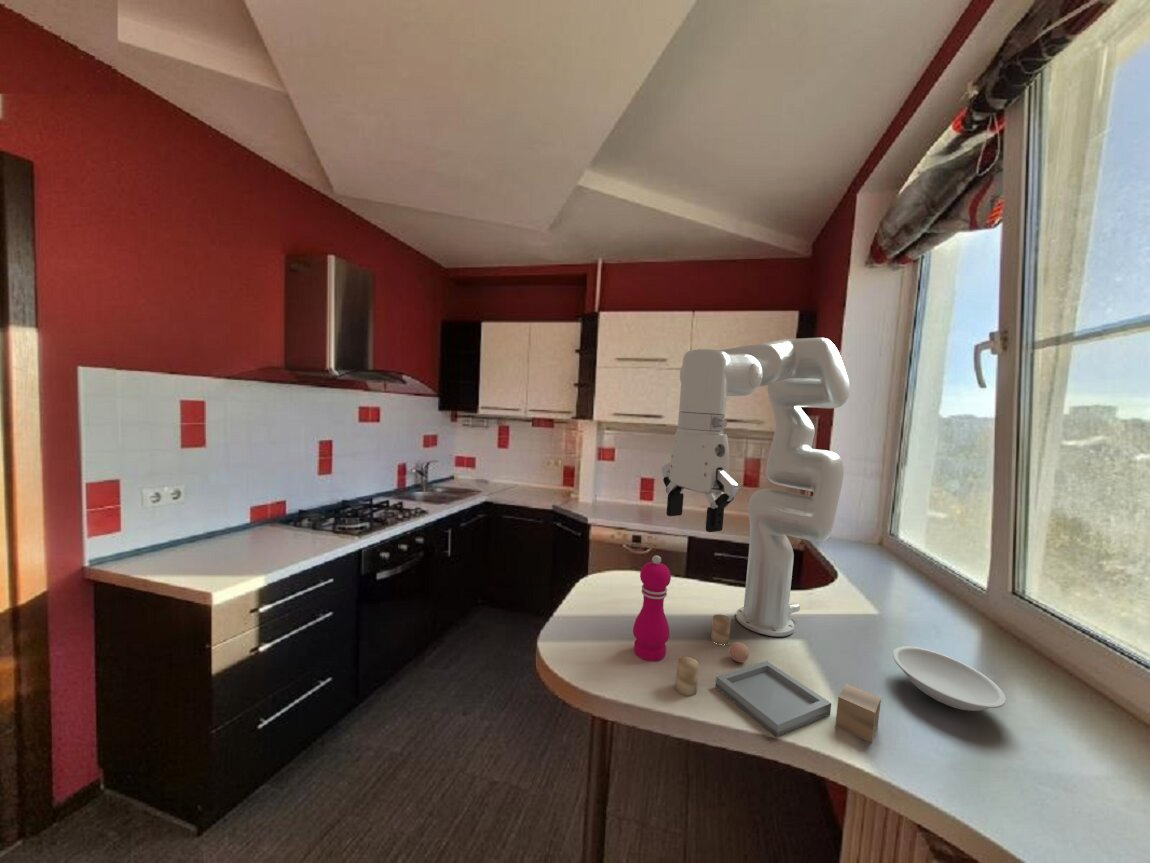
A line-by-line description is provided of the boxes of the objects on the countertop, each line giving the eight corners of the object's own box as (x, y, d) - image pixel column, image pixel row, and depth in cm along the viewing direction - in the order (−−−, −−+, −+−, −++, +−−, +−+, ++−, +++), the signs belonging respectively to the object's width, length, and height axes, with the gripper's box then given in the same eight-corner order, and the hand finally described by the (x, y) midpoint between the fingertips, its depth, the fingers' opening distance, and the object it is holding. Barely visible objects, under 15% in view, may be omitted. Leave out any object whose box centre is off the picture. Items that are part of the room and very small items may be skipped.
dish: (870, 667, 91) (873, 643, 90) (944, 672, 90) (947, 648, 90) (938, 732, 73) (942, 703, 73) (1030, 739, 73) (1034, 709, 72)
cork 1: (686, 681, 83) (689, 654, 82) (700, 693, 79) (702, 666, 79) (671, 685, 81) (673, 659, 81) (684, 698, 78) (686, 670, 77)
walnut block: (842, 711, 77) (845, 683, 77) (877, 727, 74) (881, 698, 73) (835, 726, 73) (838, 696, 73) (871, 743, 70) (875, 712, 69)
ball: (737, 653, 93) (739, 637, 92) (752, 663, 89) (753, 646, 89) (724, 657, 91) (726, 640, 91) (738, 667, 88) (740, 649, 87)
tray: (765, 670, 87) (766, 660, 87) (830, 714, 76) (831, 703, 76) (715, 686, 81) (716, 676, 81) (776, 737, 70) (777, 724, 70)
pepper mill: (667, 665, 87) (675, 564, 85) (630, 659, 88) (637, 559, 87) (668, 645, 94) (675, 551, 93) (633, 640, 96) (639, 547, 94)
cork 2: (719, 635, 100) (721, 613, 99) (732, 643, 97) (734, 621, 96) (707, 638, 98) (709, 616, 98) (719, 647, 95) (721, 624, 94)
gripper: (758, 429, 71) (748, 535, 72) (683, 420, 86) (676, 508, 88) (723, 428, 67) (714, 540, 69) (651, 419, 83) (644, 511, 84)
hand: (692, 522), depth 78 cm, fingers open, 9 cm apart
